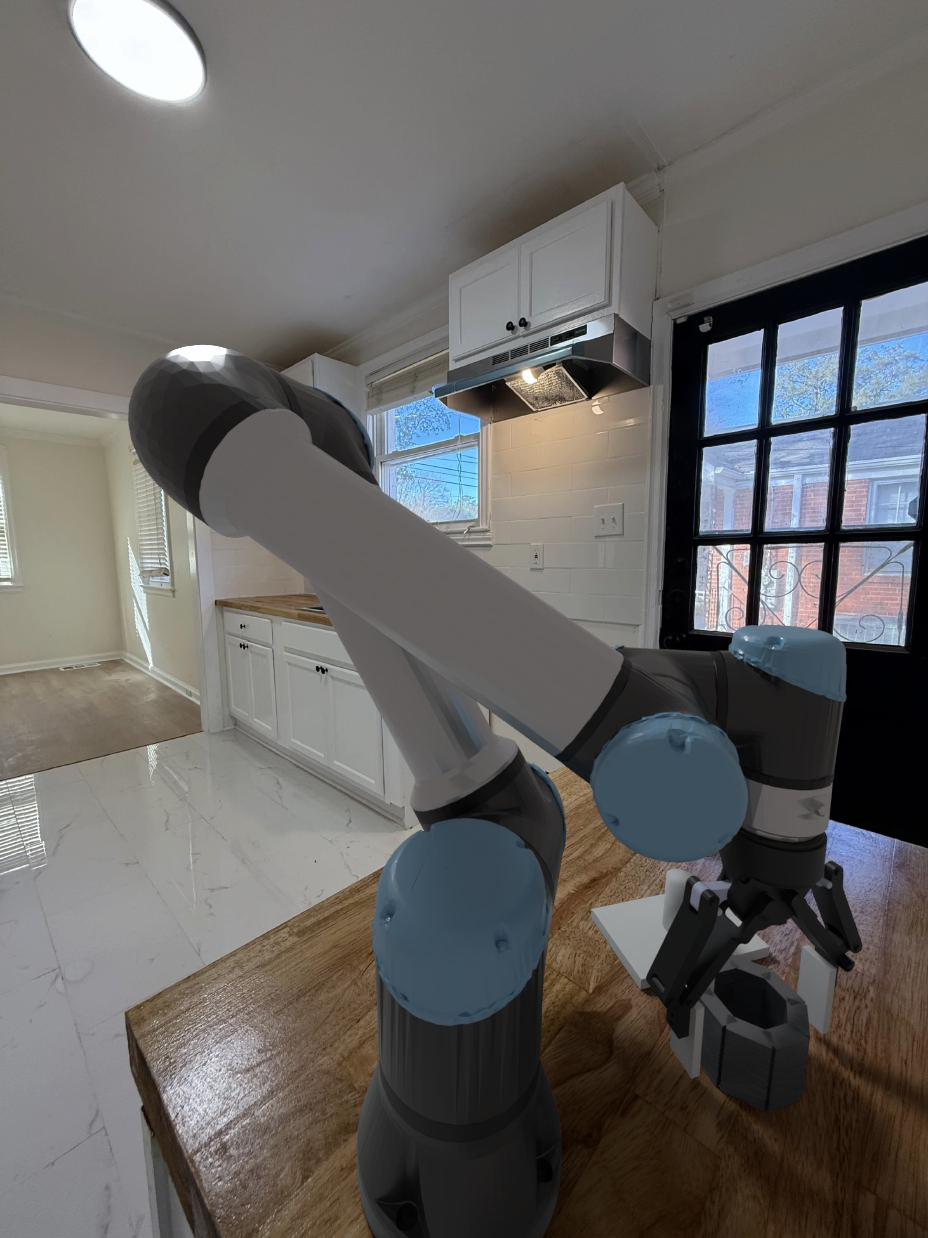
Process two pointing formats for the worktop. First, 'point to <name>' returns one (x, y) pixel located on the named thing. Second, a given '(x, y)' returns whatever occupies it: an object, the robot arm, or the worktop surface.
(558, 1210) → the worktop surface
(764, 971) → the ring
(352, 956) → the worktop surface
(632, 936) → the shaft stand
